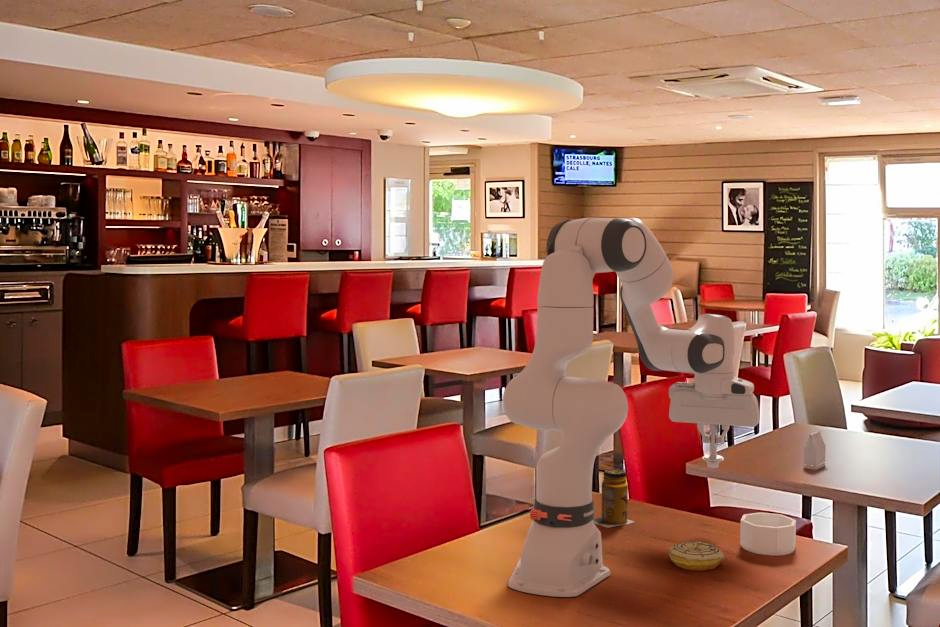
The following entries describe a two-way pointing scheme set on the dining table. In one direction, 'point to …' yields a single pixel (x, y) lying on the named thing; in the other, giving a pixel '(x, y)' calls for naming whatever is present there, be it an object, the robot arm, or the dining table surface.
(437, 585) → the dining table surface
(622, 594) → the dining table surface
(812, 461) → the white faceted block
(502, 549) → the dining table surface
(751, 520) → the white faceted bowl
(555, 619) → the dining table surface
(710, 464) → the screw
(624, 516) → the condiment
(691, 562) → the decorated donut
